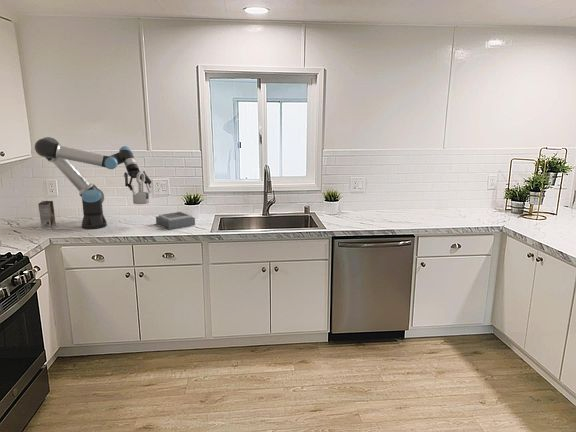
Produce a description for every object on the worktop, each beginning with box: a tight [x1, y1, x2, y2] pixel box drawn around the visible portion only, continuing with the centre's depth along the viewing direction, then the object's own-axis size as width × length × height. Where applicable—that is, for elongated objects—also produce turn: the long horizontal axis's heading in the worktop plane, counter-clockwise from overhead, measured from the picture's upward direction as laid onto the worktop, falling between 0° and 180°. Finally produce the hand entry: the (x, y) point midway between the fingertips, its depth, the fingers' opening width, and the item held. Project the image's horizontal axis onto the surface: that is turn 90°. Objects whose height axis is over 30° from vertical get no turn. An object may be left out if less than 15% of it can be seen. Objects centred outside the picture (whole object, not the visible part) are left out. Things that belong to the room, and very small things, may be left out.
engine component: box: [132, 171, 150, 205], centre depth 282 cm, size 11×20×10 cm
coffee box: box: [37, 200, 56, 229], centre depth 280 cm, size 9×6×16 cm
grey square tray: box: [155, 211, 196, 230], centre depth 290 cm, size 19×19×6 cm
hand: (142, 193), depth 280 cm, fingers closed on engine component, 10 cm apart
